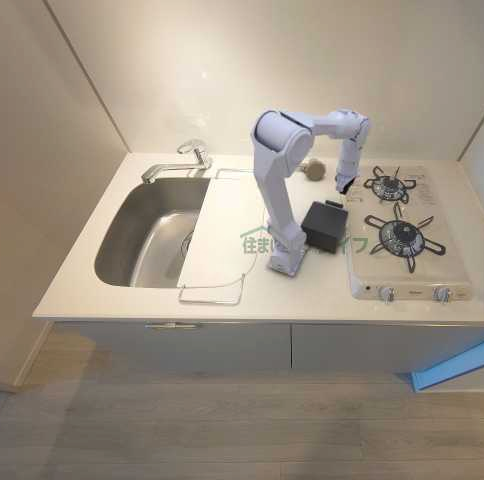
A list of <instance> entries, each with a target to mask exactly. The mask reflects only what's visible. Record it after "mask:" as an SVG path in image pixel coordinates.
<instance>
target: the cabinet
mask: <svg viewBox="0 0 484 480" xmlns="http://www.w3.org/2000/svg"><path fill="white" fill-rule="evenodd" d="M318 202H319V201H318ZM318 202H316V201H314V200H313V201H312V203H311V205H310V207H309V208H308V210H307V212H306V215H305V216H304V217H303V220H302V222H301V224H299V226H300V227H301V228H302V231H303V232H305V233H306V241H305V243H304V245H308V246H311V247H313V248H317V249H320V250H322V251H326V252H328V253H330V254H334V255H335V254H336V253H337V250H338V248H339V245H340V243H341V240H342V238H343V235H344V233H345V231H346V227H347V222H348V219H349V218H348V217H349V213H350V211H349V210H348V211H344V210H345V209H344V210H341V209H338V208H335V207H331V206H328V205H325V204H321V203H322V202H321V203H318Z"/></svg>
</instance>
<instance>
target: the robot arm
mask: <svg viewBox="0 0 484 480" xmlns="http://www.w3.org/2000/svg"><path fill="white" fill-rule="evenodd" d="M277 111H278V112H277ZM277 111H276V110H274V109H266V110H264V111H262V112H261V113H260V114H259V115H258V117H257V118H256V120H255V122H254V123H253V126H252V128H251V131H250V132H249V136H250V138H251V142H252V144H253V149H254V150H253V169H252V171H253V177H254V179H255V182H256V185H257V187H258V190H259V193H260V195H261V198H262V200H263V203H264V206H265V208H266V211H267V213H268V215H269V217H268V219H267V220H266V224H267V226H266V232H267V233H268V235H270V236H271V237H272V239H273V251H272V253H271V254H270V256H269V260H270V263H269V265H268V267H269V269H272V270H275V271H278V272H280V273H282V274H286V275H289V276H291V277H294V276H295V273H296V272H297V269H298V267H299V266H300V264H301V261H302V260H303V257H304V256H305V253H306V251H305V249H302V247H304V245H305V241H306V233H305V232H303V231H302V228H301V227H300V224H299V223H298V222H297V221H296V220H295V217H294V213H293V209H292V206H291V200H290V196H289V192H288V188H287V184H286V181H285V179H289V178H291V177H292V175H293V174H294V173H295V171H296V170H297V169H298V167H300V165H301V163H303V161H304V159H306V157H307V156H308V154H309V153H310V151H311V149H313V147H314V143H315V141H316V140H315V139H316V137H318V136H325V135H326V136H327V138H329V139H331V140H340V146H339V147H340V148H339V154H338V160H337V167H336V174H335V177H334V181H335V182H336V184H335V191H337V192H338V193H339V194H340V195H344V196H347V193H348V192H349V189H350V187H351V186H353V185H354V183H355V181H356V178H360V177H361V175H362V171H361V170H359V166H360V161H361V155H362V151H363V147H364V146H365V144H366V142H367V139H368V136H369V135H370V133H371V131H372V128H373V125H372V122H371V120H370V118H369V117H368V116H365V115H363V114H361V113H359V111H358V112H357V111H356V110H351V108H348V109H344V108H339V110H334V111H331V112H329V113H328V114H327V115H319V114H313V113H307V112H301V111H295V110H289V109H284V108H283V109H282V108H281V109H278V110H277Z"/></svg>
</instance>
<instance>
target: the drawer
mask: <svg viewBox="0 0 484 480" xmlns="http://www.w3.org/2000/svg"><path fill="white" fill-rule="evenodd" d="M315 202H318V203H321V204H325V205H328V206H331V207H335V208H338V209H341V210H344V211H348V212H349V210H347V209H345V208H344V206H345V204H343V203H339V202H336V201H333V200H330V199H326V200H325V202H321V201H319V200H316V201H315Z"/></svg>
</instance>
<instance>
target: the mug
mask: <svg viewBox="0 0 484 480" xmlns="http://www.w3.org/2000/svg"><path fill="white" fill-rule="evenodd" d="M307 161H308V162H307V164H306V165H304V166H303V167H302V169H301V170H302V171H303V172H305V174H306V176H307V177H308V178H309V179H310V180H313V181H318V180H321V179H322V178H323V177H324V175H325V174H326V167H325V164H324V163H323V162H322V161H320V160H318V158H316V157H311V158H310V159H309V160H307Z"/></svg>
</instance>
